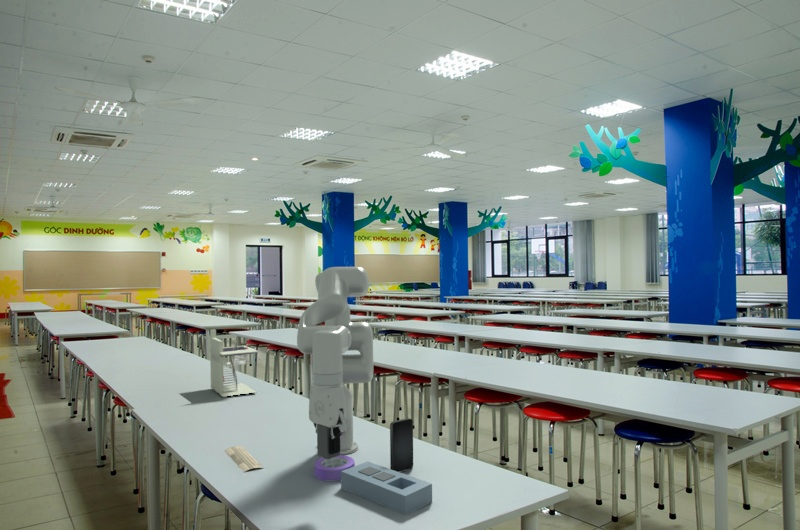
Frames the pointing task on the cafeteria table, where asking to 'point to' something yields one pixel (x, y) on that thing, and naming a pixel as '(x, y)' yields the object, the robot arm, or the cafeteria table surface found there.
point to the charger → (324, 442)
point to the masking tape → (332, 467)
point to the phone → (401, 445)
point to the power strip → (387, 487)
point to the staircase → (219, 361)
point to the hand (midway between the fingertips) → (328, 449)
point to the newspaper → (242, 458)
